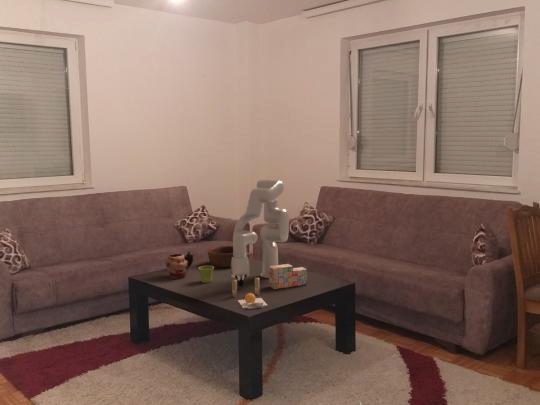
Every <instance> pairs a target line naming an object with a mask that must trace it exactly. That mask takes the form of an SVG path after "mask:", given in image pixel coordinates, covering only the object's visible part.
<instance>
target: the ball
mask: <svg viewBox="0 0 540 405" xmlns="http://www.w3.org/2000/svg"><path fill="white" fill-rule="evenodd" d="M256 298H257V297H256V295H255V293H252V292H249V293H247V294H245V297H244V300H245V301H246V303H254V302H255V299H256Z"/></svg>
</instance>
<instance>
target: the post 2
mask: <svg viewBox="0 0 540 405" xmlns="http://www.w3.org/2000/svg"><path fill="white" fill-rule="evenodd" d="M260 290H261V289H260V277H254V295H255V296H260V294H261V293H260V292H261V291H260Z"/></svg>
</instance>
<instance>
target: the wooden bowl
mask: <svg viewBox="0 0 540 405" xmlns="http://www.w3.org/2000/svg"><path fill="white" fill-rule="evenodd" d="M207 257H208V261H209V263H210V264H211V266H213V267H214V268H221V269H227V268H230V269H231V261H232V257H233V245H222V246H215V247H211V248H209V249H208V250H207Z"/></svg>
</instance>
